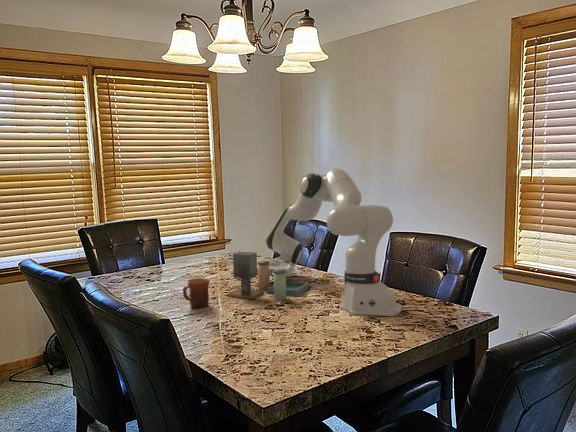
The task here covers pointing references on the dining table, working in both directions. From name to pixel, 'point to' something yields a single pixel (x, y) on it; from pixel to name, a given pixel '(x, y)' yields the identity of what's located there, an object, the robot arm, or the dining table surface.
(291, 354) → the dining table surface
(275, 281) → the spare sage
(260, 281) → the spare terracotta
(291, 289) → the tray
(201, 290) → the mug
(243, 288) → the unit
